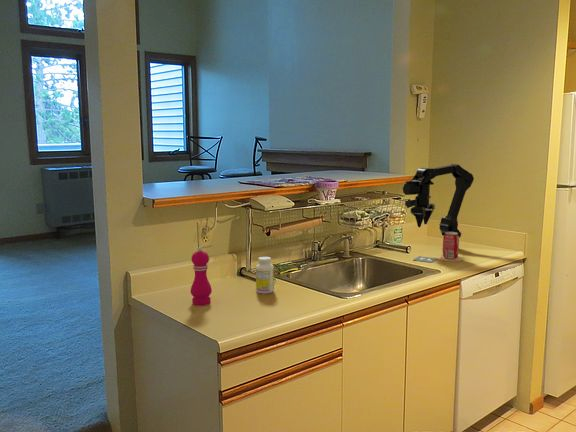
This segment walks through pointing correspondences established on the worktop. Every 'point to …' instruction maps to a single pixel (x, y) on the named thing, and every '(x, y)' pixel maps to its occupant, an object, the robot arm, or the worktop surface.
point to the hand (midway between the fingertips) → (422, 225)
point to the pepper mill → (200, 279)
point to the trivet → (451, 259)
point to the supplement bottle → (264, 276)
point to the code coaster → (425, 259)
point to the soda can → (450, 245)
